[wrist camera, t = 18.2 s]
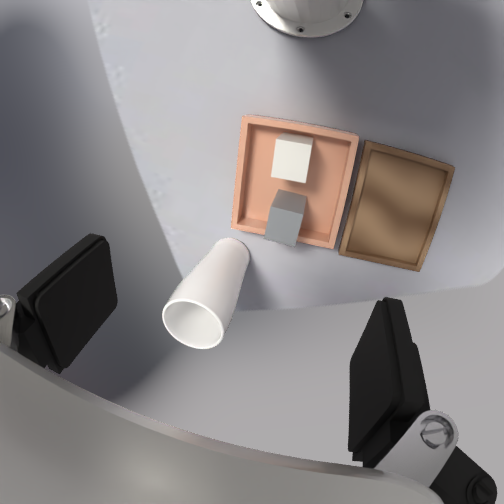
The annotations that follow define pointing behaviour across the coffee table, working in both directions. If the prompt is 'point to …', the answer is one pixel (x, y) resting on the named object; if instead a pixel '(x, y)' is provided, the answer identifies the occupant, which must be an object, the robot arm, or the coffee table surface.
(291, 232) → the grey rectangular block
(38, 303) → the robot arm
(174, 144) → the coffee table surface
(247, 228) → the dish
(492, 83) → the coffee table surface
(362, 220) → the tray
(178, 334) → the drinking glass
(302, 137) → the light grey rectangular box
